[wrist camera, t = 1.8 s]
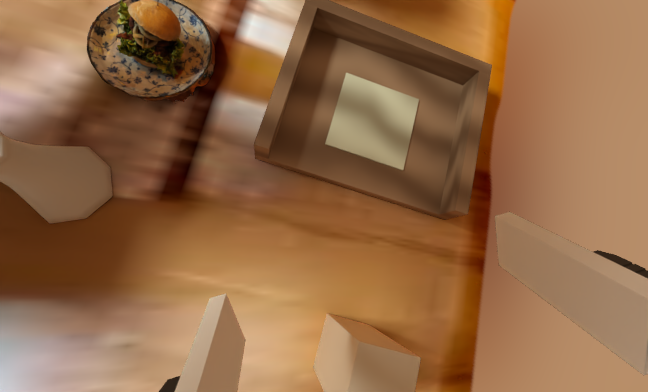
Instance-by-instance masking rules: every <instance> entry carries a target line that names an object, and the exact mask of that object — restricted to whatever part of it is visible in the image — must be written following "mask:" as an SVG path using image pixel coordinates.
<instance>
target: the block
mask: <svg viewBox="0 0 648 392" xmlns="http://www.w3.org/2000/svg"><path fill="white" fill-rule="evenodd" d="M420 361H421V357H419V356H417V355H416V354H414V353H413V352H411V351H409V350H408V349H406V348H405V347H403V346H402V345H400V344H398V343H397V342H395V341H394V340H392V339H391V338H389V337H387V336H386V335H384V334H383V333H381V332H379V331H378V330H376V329H375V328H373V327H372V326H370V325H368V324H365V323H361V322H358V321H354V320H350V319H346V318H343V317H339V316H335V315H332V314H328V313H327V315H326V319H325V323H324V327H323V331H322V335H321V339H320V342H319V346H318V350H317V354H316V358H315V362H314V366H313V368H314V370H315V372H316V375H317V377H318V379H319V381H320V384H321V386H322V388H323V390H324V392H415V389H416V383H417V378H418V372H419V366H420Z"/></svg>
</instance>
